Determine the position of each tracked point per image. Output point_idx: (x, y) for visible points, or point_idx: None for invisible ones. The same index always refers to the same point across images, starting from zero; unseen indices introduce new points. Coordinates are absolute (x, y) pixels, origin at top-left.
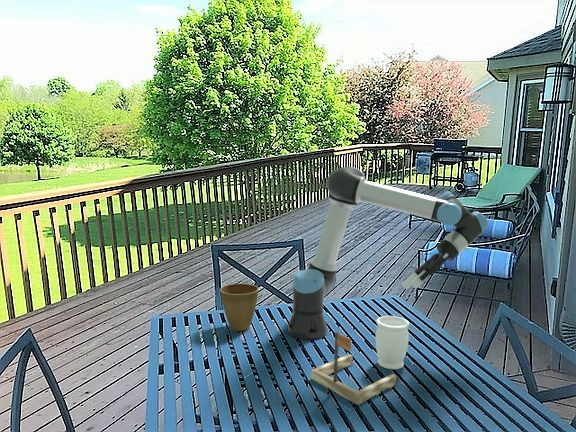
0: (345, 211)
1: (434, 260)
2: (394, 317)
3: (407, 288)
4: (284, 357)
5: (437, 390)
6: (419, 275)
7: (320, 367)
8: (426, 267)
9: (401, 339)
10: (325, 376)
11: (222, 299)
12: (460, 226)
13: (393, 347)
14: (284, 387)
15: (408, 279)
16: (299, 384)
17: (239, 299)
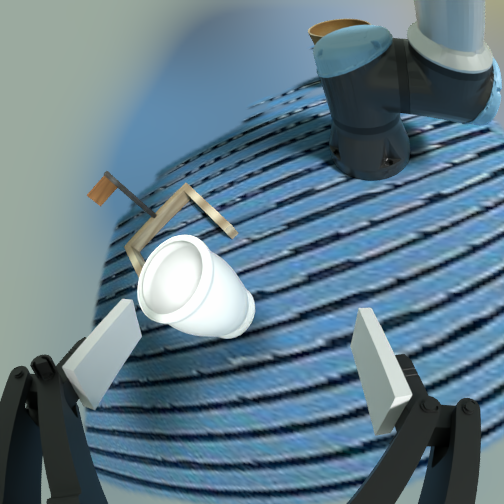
0: None
1: (51, 491)
2: (206, 287)
3: (353, 348)
4: (257, 145)
5: (144, 371)
6: (88, 339)
7: (190, 191)
8: (33, 366)
9: (159, 306)
10: (167, 202)
11: (325, 33)
12: None
13: (172, 294)
14: (180, 170)
15: (371, 347)
16: (183, 182)
17: (312, 40)
